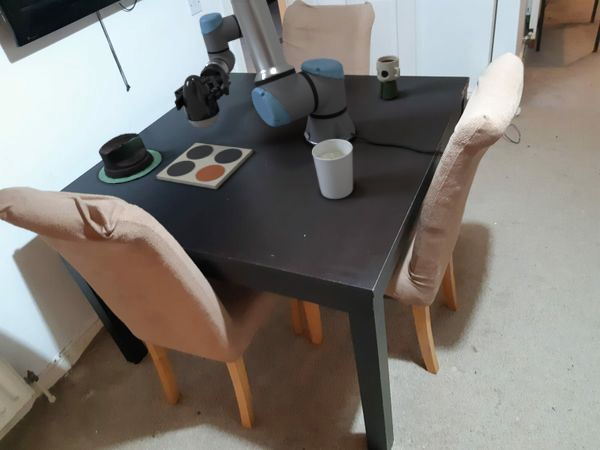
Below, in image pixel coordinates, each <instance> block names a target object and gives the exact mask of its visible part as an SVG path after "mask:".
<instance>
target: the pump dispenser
mask: <svg viewBox="0 0 600 450" xmlns="http://www.w3.org/2000/svg"><path fill="white" fill-rule="evenodd" d="M208 81H210V77H207V78H205V79H202V78H201V77H200V75H197V74H190V75H188V76H187V77H186V78H185V80H184V82H183V85H184V87H183V104H184V105H183V109H184V114H185V118H186V119H187V121H189V123H190V125H192V126H194V127H195V128H198V129H207V128H210V127H212V126H214V125H216V123H217V122H218V120H219V118H220V111H221V109H220V106H219V103H218V100H217V101H216V103H215V104H214V106H213V107H210V104H209V101H208V97H209V96H210V94H211V93H212V91H213V90H211V89H210V88H209V86H208V85H207V82H208Z"/></svg>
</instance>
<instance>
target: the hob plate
mask: <svg viewBox="0 0 600 450" xmlns="http://www.w3.org/2000/svg"><path fill="white" fill-rule="evenodd" d="M253 154H254V152H253V149H252V148H251V149H250V148H242V147H234V146H227V145H218V144H208V143H200V142H195V143H194V144H193V145H191V146H190V147H189V148H188V149H186V150H185V151H184V152H183V153H181V154H180V155H179V156H178V157H177V158H176V159H175V160H173V161H172V162H171V163H169V164H168V165H167V166H166V167H165V168H164V169H162V170H161V171H160V172H158V174H156V175H155V177H156V179H157V180H162V181H168V182H173V183H177V184H184V185H191V186H197V187H200V188H201V187H202V188H206V189H212V190H217V189H219V187H221V185H222V184H223V183H224V182H225V181H227V179H228V178H230V177H231V175H232V174H233V173H234V172H235V171H237V169H238V168H240V166H241V165H242V164H244V162H245V161H246V160H248V158H250V156H251V155H253Z"/></svg>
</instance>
